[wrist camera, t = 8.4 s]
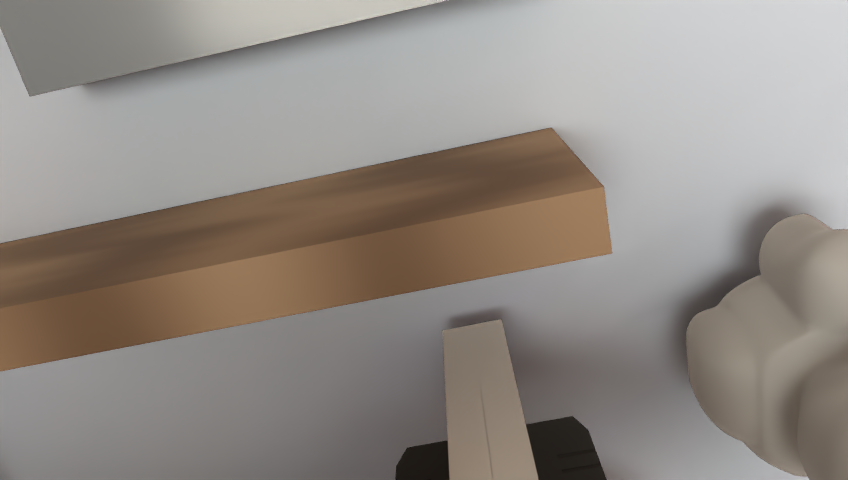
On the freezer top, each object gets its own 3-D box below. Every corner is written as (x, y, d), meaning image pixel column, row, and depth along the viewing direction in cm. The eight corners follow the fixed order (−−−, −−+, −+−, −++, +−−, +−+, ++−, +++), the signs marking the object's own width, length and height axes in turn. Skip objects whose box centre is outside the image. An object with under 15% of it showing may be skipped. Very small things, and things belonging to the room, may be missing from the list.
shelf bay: (5, 601, 21) (-117, 776, 16) (-184, 282, 17) (-417, 392, 12) (607, 504, 19) (663, 668, 15) (551, 127, 15) (603, 186, 11)
